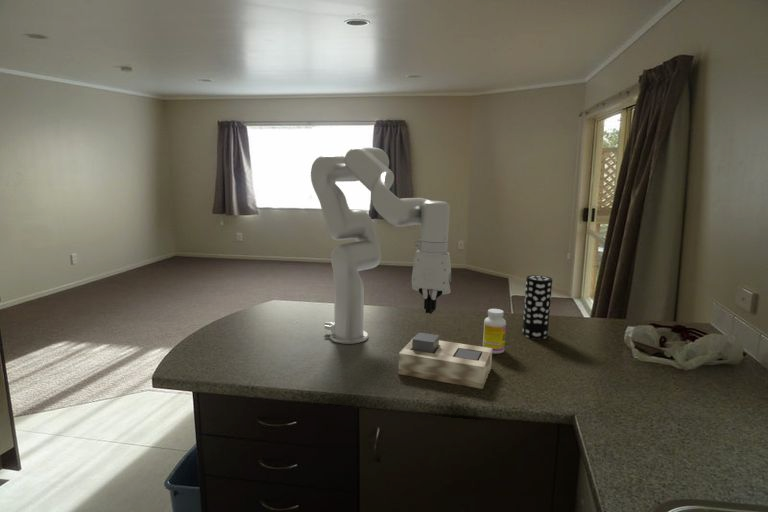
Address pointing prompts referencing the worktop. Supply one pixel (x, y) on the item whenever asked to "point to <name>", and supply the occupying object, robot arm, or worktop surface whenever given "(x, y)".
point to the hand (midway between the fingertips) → (429, 311)
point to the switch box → (447, 364)
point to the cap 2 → (468, 354)
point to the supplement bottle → (494, 331)
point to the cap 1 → (425, 343)
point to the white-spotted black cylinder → (537, 306)
